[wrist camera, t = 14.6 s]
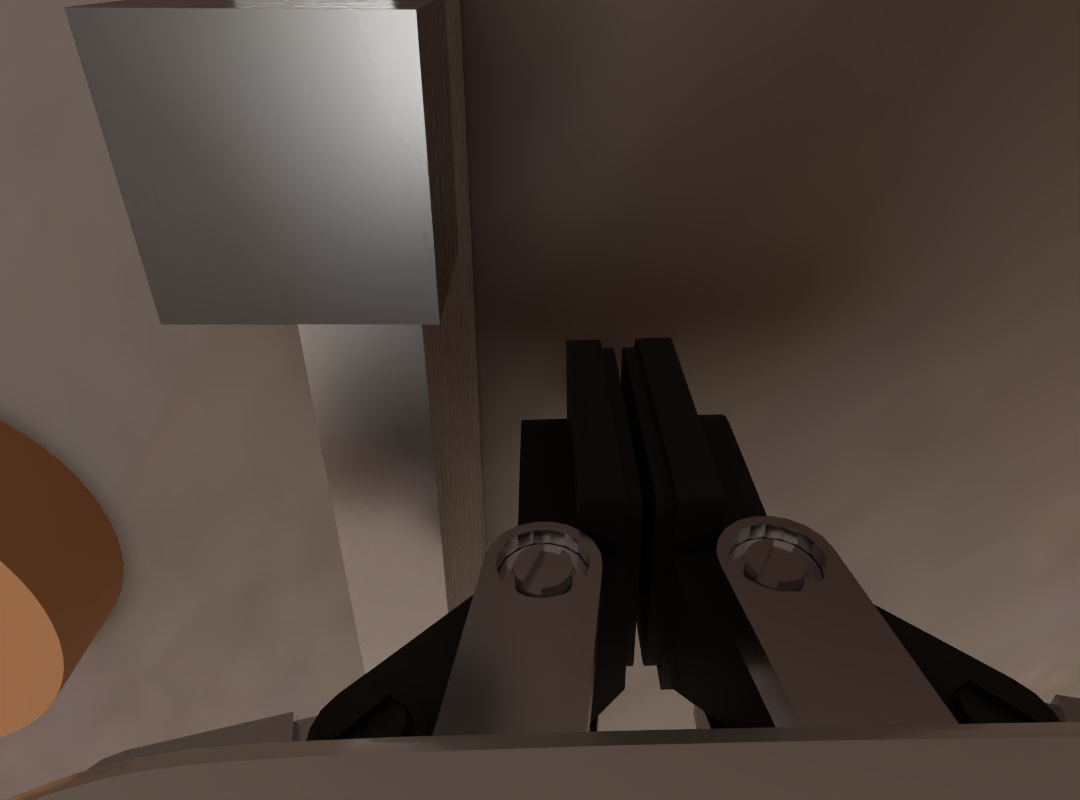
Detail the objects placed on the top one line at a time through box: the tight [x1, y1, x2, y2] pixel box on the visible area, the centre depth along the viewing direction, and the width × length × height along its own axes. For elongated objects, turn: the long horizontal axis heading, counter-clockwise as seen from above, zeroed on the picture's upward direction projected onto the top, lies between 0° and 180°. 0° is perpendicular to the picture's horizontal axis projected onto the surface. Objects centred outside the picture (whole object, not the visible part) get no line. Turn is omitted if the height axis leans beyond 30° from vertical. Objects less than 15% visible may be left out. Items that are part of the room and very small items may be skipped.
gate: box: [65, 0, 486, 674], centre depth 12 cm, size 18×2×8 cm, turn 0°
